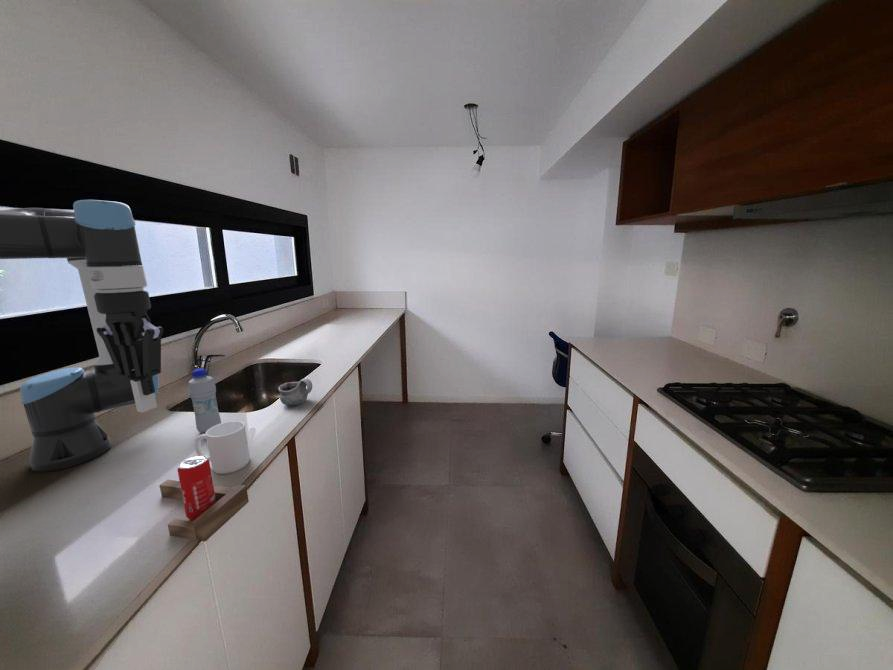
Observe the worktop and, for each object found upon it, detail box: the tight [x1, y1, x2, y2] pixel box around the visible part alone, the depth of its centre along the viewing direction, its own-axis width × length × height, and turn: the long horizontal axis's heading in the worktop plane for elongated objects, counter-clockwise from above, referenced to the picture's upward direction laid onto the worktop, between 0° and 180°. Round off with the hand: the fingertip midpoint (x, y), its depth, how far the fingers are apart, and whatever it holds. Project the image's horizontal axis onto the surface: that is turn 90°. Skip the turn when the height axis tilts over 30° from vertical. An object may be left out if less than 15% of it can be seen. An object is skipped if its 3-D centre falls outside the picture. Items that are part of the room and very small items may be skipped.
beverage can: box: [177, 455, 216, 521], centre depth 71 cm, size 5×5×12 cm
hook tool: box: [158, 479, 249, 542], centre depth 72 cm, size 20×11×4 cm, turn 79°
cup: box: [194, 420, 251, 475], centre depth 89 cm, size 8×12×10 cm
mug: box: [277, 377, 313, 407], centre depth 126 cm, size 10×12×10 cm
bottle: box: [188, 368, 222, 435], centre depth 106 cm, size 7×7×20 cm
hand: (147, 409), depth 70 cm, fingers closed
